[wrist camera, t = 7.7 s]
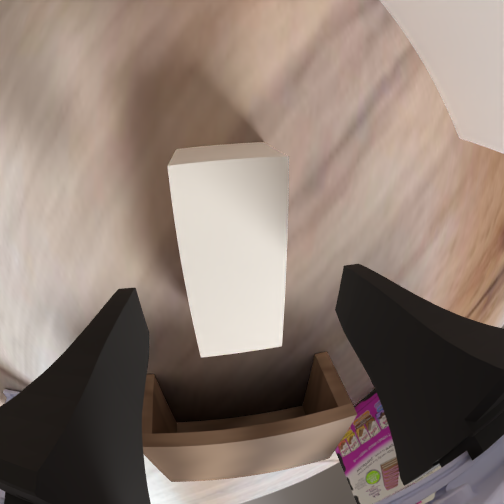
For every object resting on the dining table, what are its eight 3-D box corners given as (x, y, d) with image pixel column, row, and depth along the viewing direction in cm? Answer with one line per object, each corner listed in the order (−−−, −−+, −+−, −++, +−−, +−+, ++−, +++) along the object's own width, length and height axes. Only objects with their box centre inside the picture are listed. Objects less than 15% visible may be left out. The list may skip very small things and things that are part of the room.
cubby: (168, 427, 23) (171, 481, 18) (141, 374, 18) (136, 446, 13) (310, 408, 25) (329, 458, 20) (326, 351, 20) (357, 414, 15)
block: (197, 305, 16) (200, 357, 13) (176, 148, 12) (167, 166, 9) (264, 297, 17) (281, 346, 14) (263, 141, 13) (288, 156, 9)
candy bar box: (350, 427, 31) (392, 526, 17) (324, 428, 29) (367, 539, 15) (413, 374, 27) (476, 481, 13) (392, 371, 25) (462, 496, 11)
